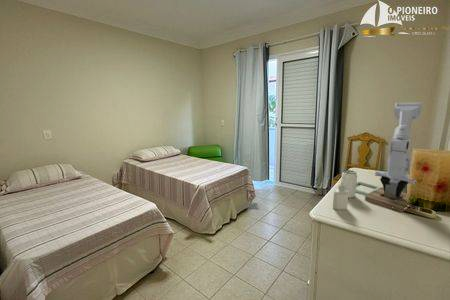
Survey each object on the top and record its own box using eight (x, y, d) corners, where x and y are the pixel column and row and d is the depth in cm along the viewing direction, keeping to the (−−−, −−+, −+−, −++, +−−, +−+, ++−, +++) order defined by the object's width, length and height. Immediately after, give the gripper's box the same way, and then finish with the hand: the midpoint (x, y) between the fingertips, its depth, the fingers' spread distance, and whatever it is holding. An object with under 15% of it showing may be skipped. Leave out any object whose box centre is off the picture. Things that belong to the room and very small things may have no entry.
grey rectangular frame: (358, 183, 116) (358, 181, 116) (380, 189, 108) (381, 187, 107) (345, 188, 109) (345, 186, 109) (368, 195, 100) (368, 193, 100)
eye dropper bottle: (348, 211, 86) (351, 184, 84) (333, 209, 88) (335, 183, 86) (346, 206, 90) (349, 180, 88) (331, 205, 92) (334, 179, 90)
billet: (388, 195, 98) (390, 181, 96) (398, 198, 95) (401, 184, 93) (383, 198, 95) (385, 184, 94) (394, 201, 92) (396, 186, 91)
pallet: (381, 190, 106) (382, 187, 105) (417, 200, 94) (418, 196, 94) (364, 200, 96) (365, 196, 96) (402, 212, 85) (403, 207, 84)
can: (357, 198, 98) (360, 174, 96) (342, 197, 99) (344, 173, 97) (351, 192, 104) (354, 170, 102) (337, 192, 106) (340, 169, 103)
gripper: (373, 163, 96) (370, 191, 98) (414, 171, 84) (408, 202, 86) (380, 161, 99) (376, 188, 102) (420, 168, 87) (414, 198, 90)
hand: (391, 194), depth 95 cm, fingers closed on billet, 4 cm apart
